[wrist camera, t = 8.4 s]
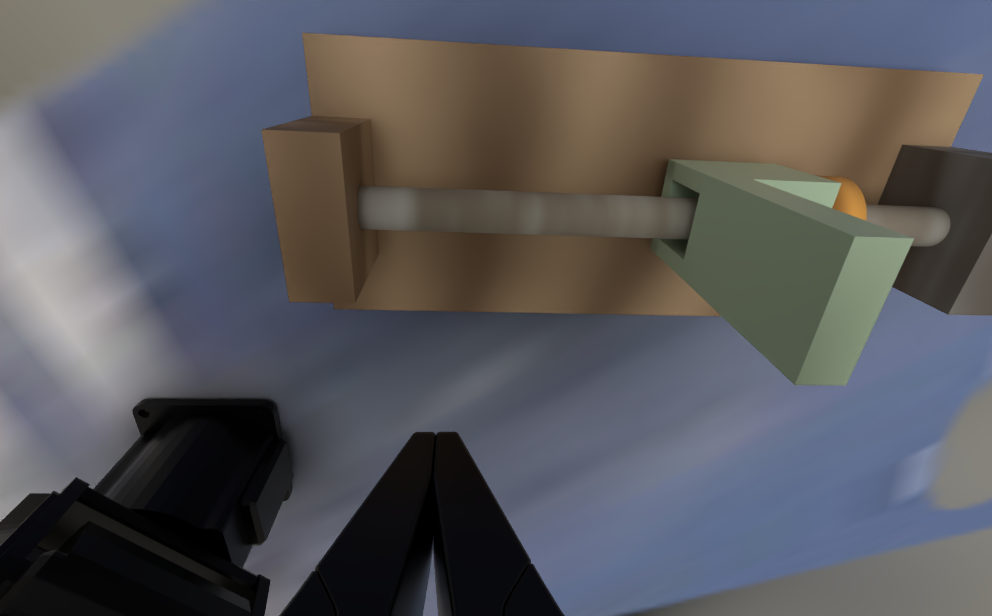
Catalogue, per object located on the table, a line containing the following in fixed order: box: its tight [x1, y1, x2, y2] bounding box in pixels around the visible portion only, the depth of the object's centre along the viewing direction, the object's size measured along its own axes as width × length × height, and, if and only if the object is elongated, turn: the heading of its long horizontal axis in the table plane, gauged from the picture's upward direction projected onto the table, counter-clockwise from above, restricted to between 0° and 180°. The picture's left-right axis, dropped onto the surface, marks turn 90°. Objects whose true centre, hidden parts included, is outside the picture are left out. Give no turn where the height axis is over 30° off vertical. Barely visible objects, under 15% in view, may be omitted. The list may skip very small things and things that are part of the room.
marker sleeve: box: [651, 159, 914, 385], centre depth 14 cm, size 4×3×9 cm
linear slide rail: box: [262, 33, 992, 316], centre depth 17 cm, size 24×10×6 cm, turn 87°
